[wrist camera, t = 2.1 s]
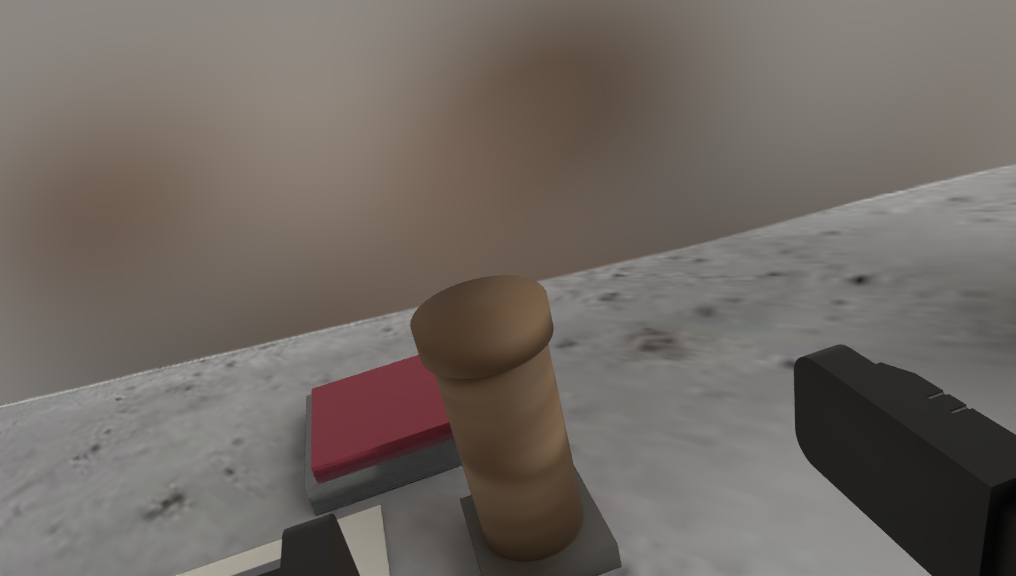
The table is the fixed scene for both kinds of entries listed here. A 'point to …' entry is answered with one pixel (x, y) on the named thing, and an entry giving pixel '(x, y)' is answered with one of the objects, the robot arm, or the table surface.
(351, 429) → the ink pad
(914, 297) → the table surface
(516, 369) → the stamp
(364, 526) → the sheet
